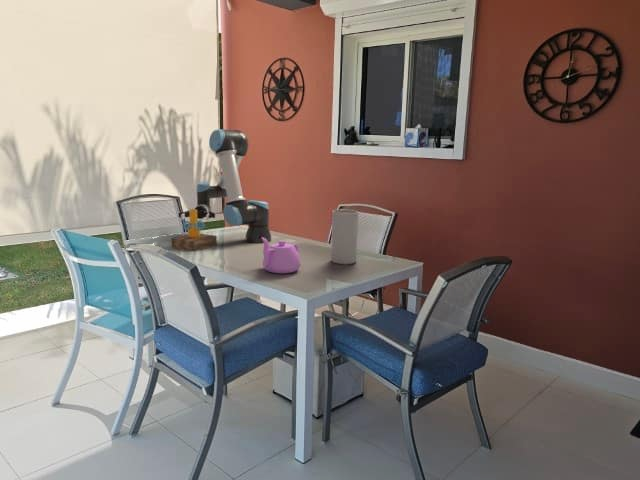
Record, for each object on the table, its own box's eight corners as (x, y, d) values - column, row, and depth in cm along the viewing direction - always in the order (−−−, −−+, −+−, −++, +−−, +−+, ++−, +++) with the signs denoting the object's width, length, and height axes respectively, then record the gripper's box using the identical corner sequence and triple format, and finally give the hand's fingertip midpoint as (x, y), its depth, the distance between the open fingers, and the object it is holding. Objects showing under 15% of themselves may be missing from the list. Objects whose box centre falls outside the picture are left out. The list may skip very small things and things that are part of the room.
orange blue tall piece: (208, 235, 272) (207, 208, 268) (201, 239, 261) (201, 211, 258) (186, 234, 273) (185, 207, 270) (179, 238, 263) (178, 210, 259)
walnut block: (216, 244, 272) (216, 235, 271) (194, 250, 257) (194, 241, 256) (194, 241, 279) (194, 232, 278) (171, 247, 264) (171, 238, 263)
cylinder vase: (360, 260, 244) (362, 211, 239) (349, 266, 233) (351, 214, 228) (338, 257, 250) (340, 208, 245) (326, 262, 240) (327, 211, 234)
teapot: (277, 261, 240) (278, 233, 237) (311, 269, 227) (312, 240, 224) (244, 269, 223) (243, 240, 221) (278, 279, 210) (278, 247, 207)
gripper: (222, 218, 290) (217, 224, 270) (179, 217, 289) (171, 224, 268) (222, 205, 289) (217, 211, 268) (179, 205, 287) (170, 210, 267)
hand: (194, 217), depth 268 cm, fingers open, 13 cm apart
